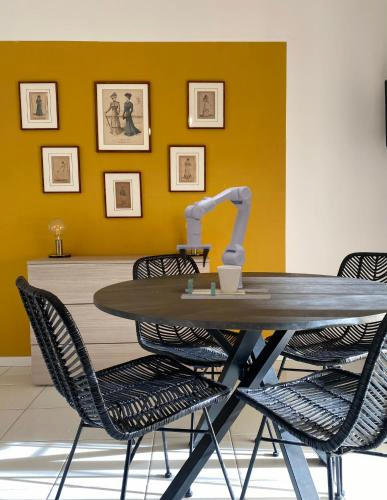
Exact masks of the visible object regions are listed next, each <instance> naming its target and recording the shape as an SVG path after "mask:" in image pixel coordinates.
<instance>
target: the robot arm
mask: <svg viewBox="0 0 387 500" xmlns="http://www.w3.org/2000/svg"><path fill="white" fill-rule="evenodd" d="M252 196H253V193H252V192H251V190H250V188H249V187H248V186H246V185H244V186H236V187H234V186H232V187H231V186H230V187H229V188H226V189H225V190H223V191H221V192H220V193H218V194H216V195H215V196H213V197H210V196H204V197H202V200H199V201H195V202H194V203H193V205H192V204H191V205H187V207H186V208H185V209H184V212H183V215H184V218H185V219H186V237H187V241H186V242H187V243H186V244H177V245H176V250H177V251H178V252H179V255H180V257H181V260H182V262H183V267H184V268H187V251H189V250H191V251H193V250H194V251H195V250H197V251H198V250H199V251H200V250H202V268H205V266H206V261H207V258H208V255H209V252H210V250H213V245H212V244H202V218H203V217H204V215H206V214H208V213H210V212H212V211H213V210H215V209H216V205H220V204H221V203H224V202H225V201H227V200H229V202H231V204H233V206H235V208H236V209H237V213H236V217H235V221H234V226H233V229H232V233H231V238H230V242H229V244H228V245H227V246H226V247H225V249H224V252H223V253H222V254H221V262H222V264H223V266H240V267H242V268H241V272H240V278H239V284H238V289H244V288H243V281H242V280H243V279H242V278H243V277H242V270H243V266H244V265H245V263H246V250H245V249H244V248H243V245H244V244H243V243H244V241H245V236H246V233H247V232H246V231H247V227H248V222H249V218H250V215H251V210H252V205H251V204H252V203H251V201H252Z"/></svg>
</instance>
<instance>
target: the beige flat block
mask: <svg viewBox="0 0 387 500" xmlns="http://www.w3.org/2000/svg"><path fill="white" fill-rule="evenodd" d="M187 289H188V292H187V294H211V290H193V289H194V279H188V280H187ZM215 294H246V292H245V290H237V292H236V293H223V292H221V290H215Z"/></svg>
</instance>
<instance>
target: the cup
mask: <svg viewBox="0 0 387 500" xmlns="http://www.w3.org/2000/svg"><path fill="white" fill-rule="evenodd" d="M216 268H217V270H218V271H217V272H218V278H219V279H218V280H219V285H220V289H221V292H223V293H236V292H237V290H238V289H239V288H238V284H239V278H240V272H241V268H242V269H243V267H240V266H224V265H218V266H217V267H216Z"/></svg>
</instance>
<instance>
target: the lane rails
mask: <svg viewBox="0 0 387 500" xmlns="http://www.w3.org/2000/svg"><path fill="white" fill-rule="evenodd" d="M184 290H185V291H184V292H185V293H181V295H180V298H181V300H193V299H195V300H196V299H197V300H199V299H200V300H210V299H211V300H220V299H221V300H226V299H227V300H237V299H238V300H239V299H240V300H242V299H243V300H247V299H248V300H253V299H254V300H271V298H272V297H271V294H270V293H269V289H268V288H238V290H245V294H215V290H221V288H216V282H211V283H210V288H193V290H211V294H188V288H185V289H184ZM247 292H249V293H247ZM257 292H258V293H257ZM265 292H266V293H265ZM267 292H268V293H267Z"/></svg>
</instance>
